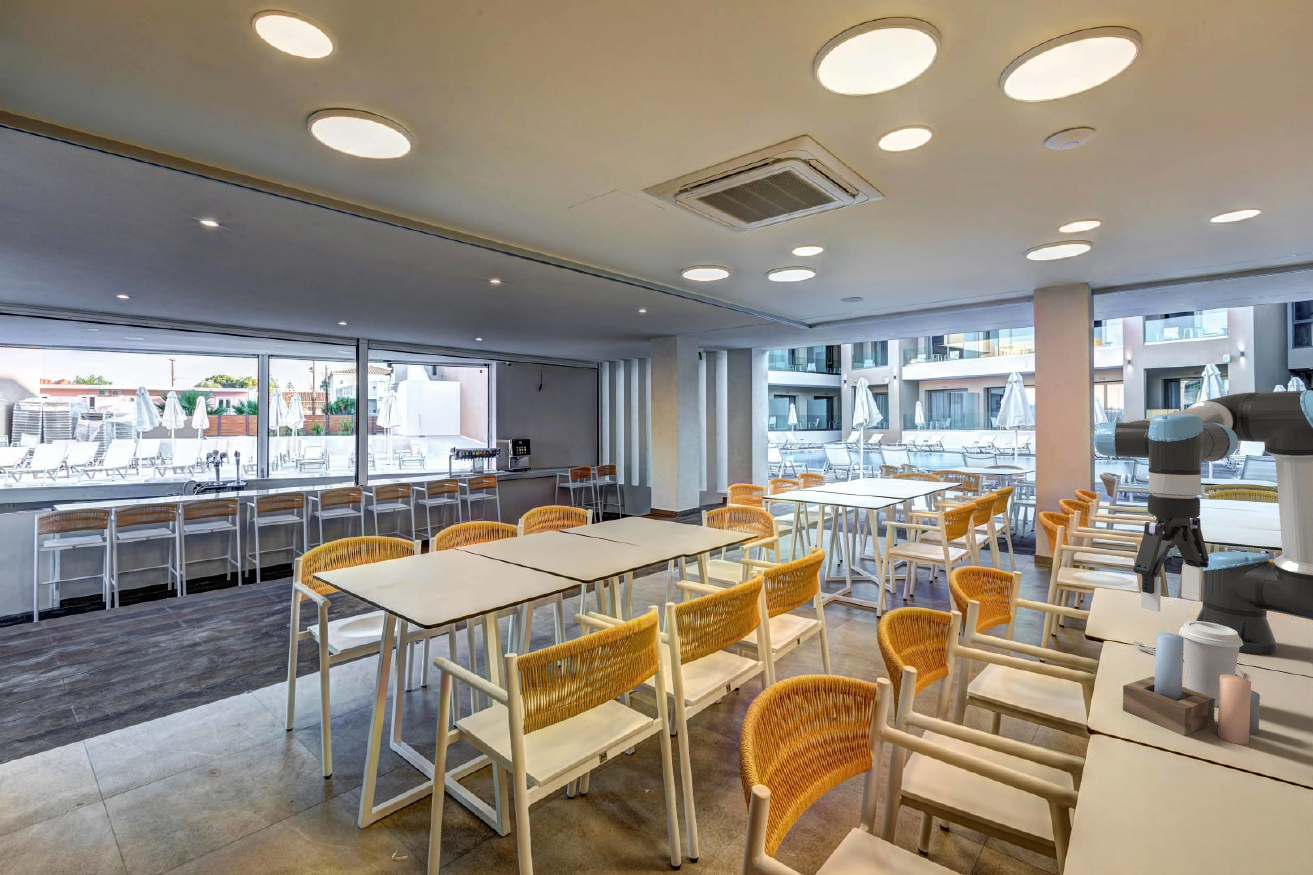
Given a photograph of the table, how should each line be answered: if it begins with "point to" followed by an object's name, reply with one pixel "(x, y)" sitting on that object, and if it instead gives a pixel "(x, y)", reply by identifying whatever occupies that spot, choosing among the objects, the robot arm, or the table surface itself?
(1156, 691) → the tall dowel
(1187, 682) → the coffee cup
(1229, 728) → the medium dowel
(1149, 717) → the socket block
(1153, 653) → the silver metal utensil
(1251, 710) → the short dowel
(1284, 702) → the table surface
